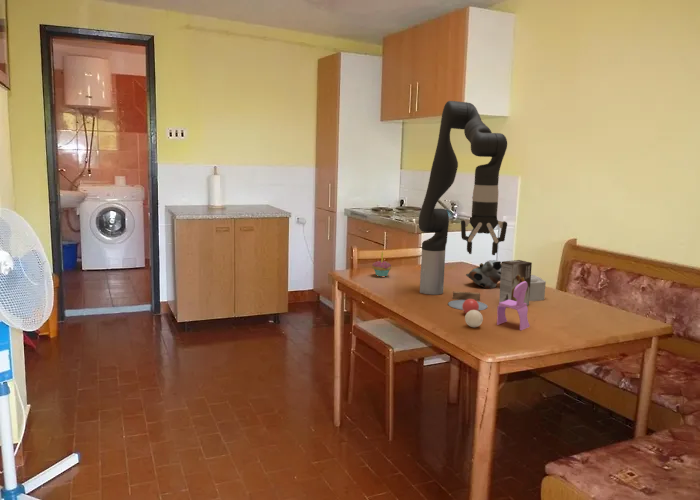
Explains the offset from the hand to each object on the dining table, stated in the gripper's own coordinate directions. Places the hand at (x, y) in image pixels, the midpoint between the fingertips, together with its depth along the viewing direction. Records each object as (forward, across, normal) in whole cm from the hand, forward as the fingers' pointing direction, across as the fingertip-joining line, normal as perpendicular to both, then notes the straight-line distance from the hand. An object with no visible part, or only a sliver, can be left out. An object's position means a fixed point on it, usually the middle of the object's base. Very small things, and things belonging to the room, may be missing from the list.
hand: (481, 254), depth 169 cm
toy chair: (+24, +12, +5) cm, 27 cm away
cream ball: (+21, -1, +1) cm, 21 cm away
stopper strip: (+24, -1, +36) cm, 43 cm away
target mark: (+24, -1, +27) cm, 36 cm away
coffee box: (+24, +16, +32) cm, 43 cm away
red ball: (+21, -1, +15) cm, 26 cm away
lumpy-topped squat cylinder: (+24, +22, +44) cm, 55 cm away
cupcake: (+24, -36, +68) cm, 81 cm away
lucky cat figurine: (+24, +9, +61) cm, 66 cm away
